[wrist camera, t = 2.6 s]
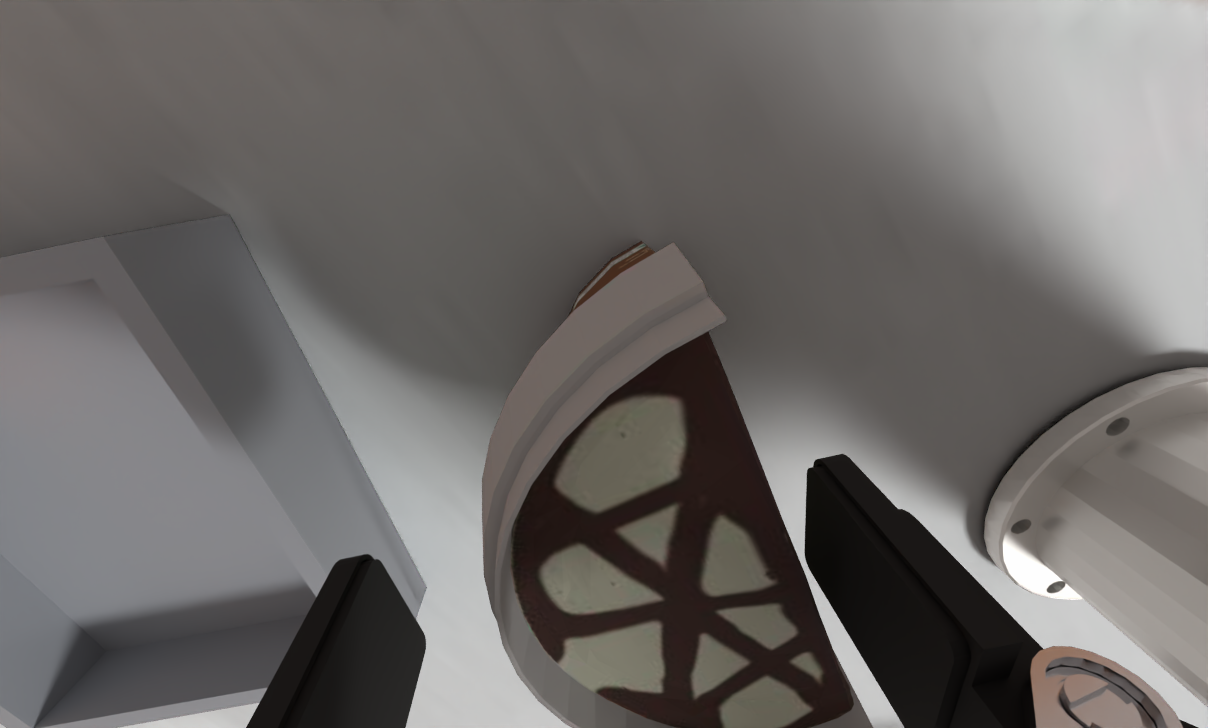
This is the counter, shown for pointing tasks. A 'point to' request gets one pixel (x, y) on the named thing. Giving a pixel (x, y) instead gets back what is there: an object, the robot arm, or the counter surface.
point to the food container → (648, 526)
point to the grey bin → (163, 481)
